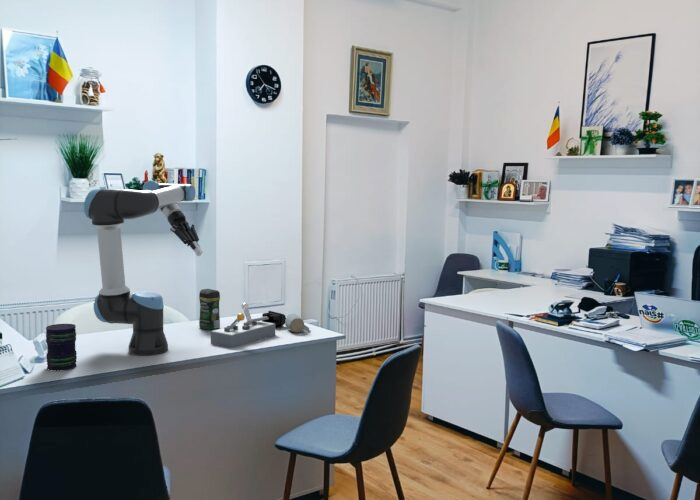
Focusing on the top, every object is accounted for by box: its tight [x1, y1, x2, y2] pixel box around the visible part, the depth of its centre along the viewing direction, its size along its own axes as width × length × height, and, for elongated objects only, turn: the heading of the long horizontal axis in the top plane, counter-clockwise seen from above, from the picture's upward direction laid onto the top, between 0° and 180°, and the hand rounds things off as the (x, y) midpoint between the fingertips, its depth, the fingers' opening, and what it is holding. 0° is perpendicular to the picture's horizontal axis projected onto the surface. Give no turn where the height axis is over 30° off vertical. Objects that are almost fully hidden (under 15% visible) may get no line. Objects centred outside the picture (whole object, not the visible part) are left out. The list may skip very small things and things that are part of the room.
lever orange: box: [226, 312, 246, 330], centre depth 262 cm, size 3×4×10 cm
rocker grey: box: [251, 316, 269, 321], centre depth 279 cm, size 6×4×1 cm
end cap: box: [261, 310, 287, 329], centre depth 298 cm, size 10×7×7 cm
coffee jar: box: [198, 288, 221, 331], centre depth 290 cm, size 10×8×19 cm
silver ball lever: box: [240, 302, 255, 325], centre depth 274 cm, size 3×4×10 cm
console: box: [210, 321, 276, 348], centre depth 271 cm, size 12×28×7 cm, turn 147°
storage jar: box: [45, 323, 78, 372], centre depth 223 cm, size 10×10×15 cm
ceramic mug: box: [284, 313, 310, 334], centre depth 288 cm, size 11×8×8 cm
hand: (200, 254), depth 276 cm, fingers closed
